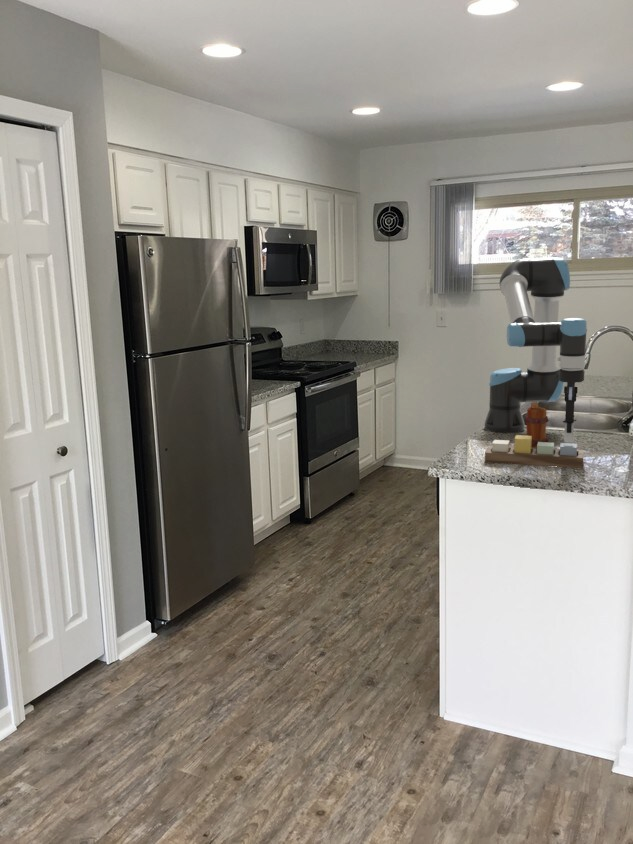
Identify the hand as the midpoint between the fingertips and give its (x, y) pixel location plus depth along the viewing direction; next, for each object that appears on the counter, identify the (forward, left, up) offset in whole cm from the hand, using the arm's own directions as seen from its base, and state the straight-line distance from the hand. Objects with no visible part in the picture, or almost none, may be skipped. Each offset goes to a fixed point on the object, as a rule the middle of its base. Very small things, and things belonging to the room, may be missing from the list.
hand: (568, 441), depth 230 cm
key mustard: (0, -14, -4) cm, 15 cm away
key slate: (0, 0, -6) cm, 6 cm away
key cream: (0, -21, -6) cm, 22 cm away
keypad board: (0, -10, -7) cm, 13 cm away
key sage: (0, -7, -6) cm, 9 cm away
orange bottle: (-20, -11, -7) cm, 24 cm away
